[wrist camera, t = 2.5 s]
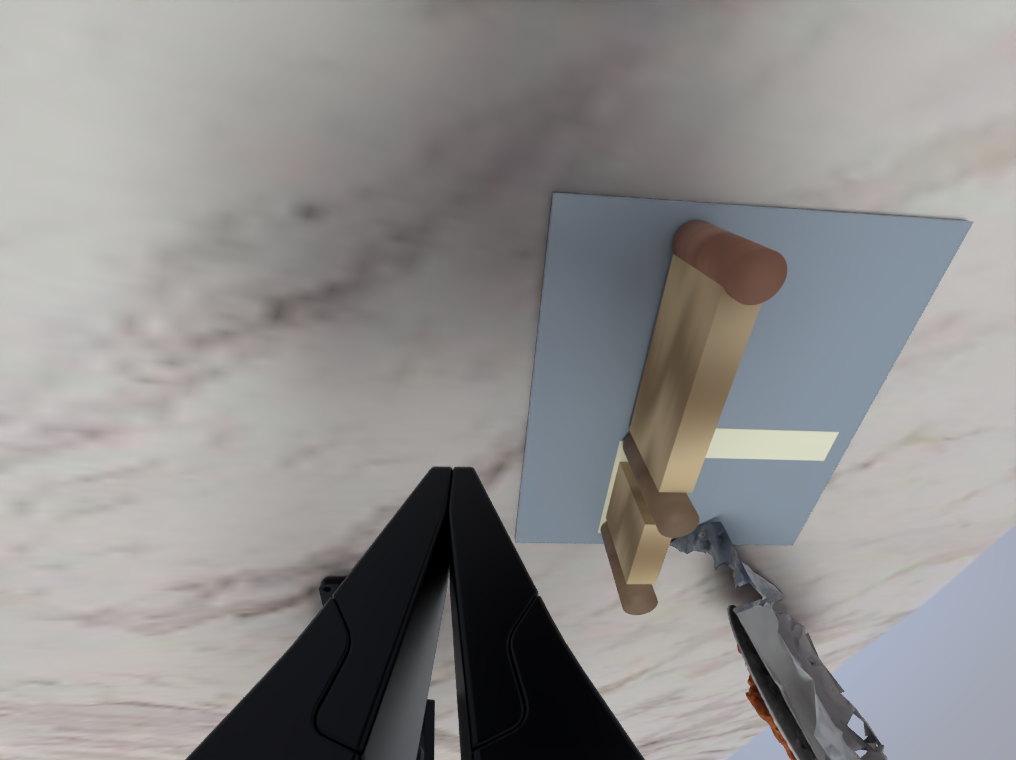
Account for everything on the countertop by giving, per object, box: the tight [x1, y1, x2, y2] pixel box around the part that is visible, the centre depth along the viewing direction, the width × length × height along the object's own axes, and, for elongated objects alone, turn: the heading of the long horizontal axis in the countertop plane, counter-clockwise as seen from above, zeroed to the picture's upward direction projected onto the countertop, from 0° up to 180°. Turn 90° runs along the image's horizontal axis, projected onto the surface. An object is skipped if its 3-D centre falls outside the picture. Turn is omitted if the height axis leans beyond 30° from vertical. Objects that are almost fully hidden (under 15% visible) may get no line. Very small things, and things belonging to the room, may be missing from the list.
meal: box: [669, 522, 887, 760], centre depth 25 cm, size 15×4×13 cm, turn 39°
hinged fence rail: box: [623, 220, 787, 538], centre depth 19 cm, size 12×2×5 cm, turn 176°
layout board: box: [515, 192, 973, 545], centre depth 23 cm, size 20×18×1 cm
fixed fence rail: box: [600, 462, 671, 615], centre depth 24 cm, size 6×2×5 cm, turn 176°
